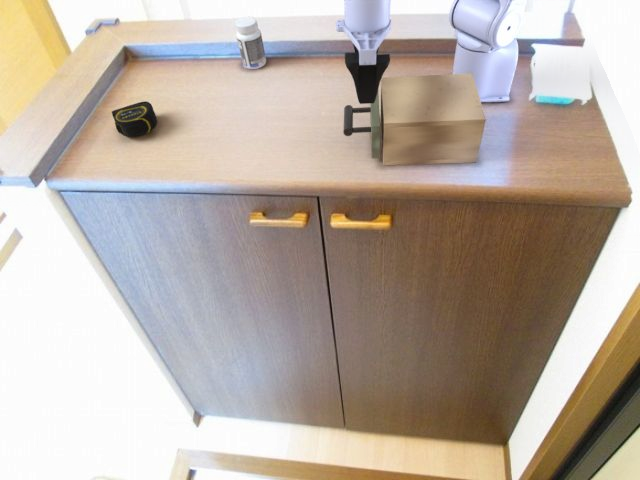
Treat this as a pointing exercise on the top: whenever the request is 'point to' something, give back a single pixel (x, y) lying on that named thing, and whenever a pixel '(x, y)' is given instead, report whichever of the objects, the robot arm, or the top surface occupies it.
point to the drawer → (373, 129)
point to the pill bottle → (250, 43)
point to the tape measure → (135, 119)
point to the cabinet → (431, 119)
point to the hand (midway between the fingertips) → (366, 87)
